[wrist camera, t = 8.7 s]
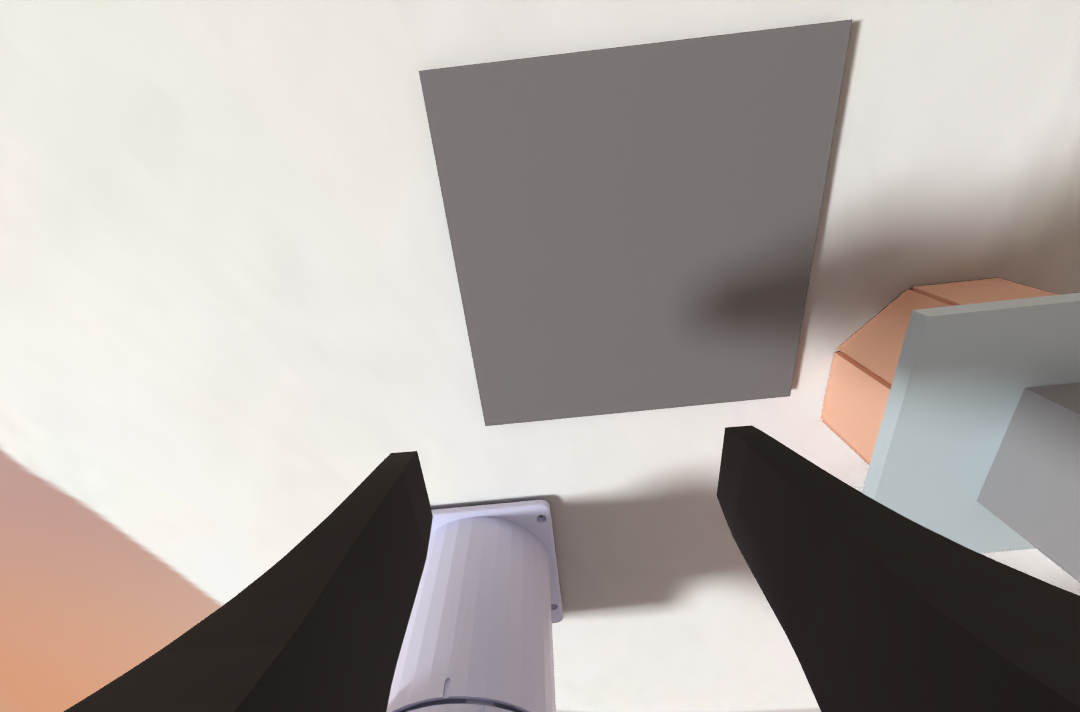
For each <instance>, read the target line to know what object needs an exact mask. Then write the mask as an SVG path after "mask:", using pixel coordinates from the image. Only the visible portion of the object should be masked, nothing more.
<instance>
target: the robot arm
mask: <svg viewBox="0 0 1080 712" xmlns="http://www.w3.org/2000/svg"><path fill="white" fill-rule="evenodd" d="M717 497H718V500H719V503H720V505H721V508H722V511H723V513H724V516H725V518H726V521H727V523H728V526H729V528H730V531H731V533H732V536H733V538H734V540H735V541H736V543H737V545H738V547H739V549H740V551H741V553H742V555H743V556H744V558H745V560H746V562H747V564H748V566H749V568H750V569H751V571H752V573H753V575H754V577H755V579H756V580H757V582H758V584H759V586H760V588H761V589H762V591H763V593H764V595H765V597H766V599H767V600H768V602H769V604H770V606H771V608H772V610H773V611H774V613H775V615H776V617H777V619H778V620H779V622H780V624H781V626H782V628H783V630H784V631H785V633H786V635H787V637H788V639H789V641H790V643H791V645H792V647H793V649H794V651H795V653H796V655H797V657H798V659H799V662H800V664H801V666H802V668H803V671H804V673H805V675H806V678H807V680H808V682H809V684H810V687H811V689H812V691H813V694H814V696H815V698H816V700H817V703H818V705H819V707H820V709H821V712H1080V596H1078V595H1076V594H1073V593H1071V592H1068V591H1066V590H1063V589H1061V588H1058V587H1056V586H1053V585H1051V584H1049V583H1046V582H1044V581H1042V580H1039V579H1037V578H1035V577H1032V576H1030V575H1028V574H1025V573H1023V572H1021V571H1018V570H1016V569H1014V568H1011V567H1009V566H1007V565H1004V564H1002V563H1000V562H997V561H995V560H993V559H991V558H988V557H986V556H984V555H982V554H980V553H977V552H975V551H973V550H971V549H969V548H967V547H965V546H962V545H960V544H958V543H956V542H954V541H952V540H950V539H948V538H946V537H944V536H942V535H940V534H938V533H936V532H934V531H932V530H930V529H928V528H926V527H924V526H922V525H920V524H918V523H916V522H914V521H912V520H910V519H908V518H906V517H904V516H902V515H901V514H899V513H897V512H895V511H893V510H892V509H890V508H888V507H886V506H884V505H883V504H881V503H879V502H877V501H875V500H874V499H872V498H870V497H868V496H866V495H865V494H863V493H861V492H859V491H858V490H856V489H854V488H853V487H851V486H849V485H848V484H846V483H844V482H842V481H841V480H839V479H838V478H836V477H834V476H833V475H831V474H829V473H828V472H826V471H824V470H823V469H821V468H820V467H818V466H816V465H815V464H813V463H812V462H810V461H808V460H807V459H805V458H804V457H802V456H800V455H799V454H797V453H796V452H794V451H793V450H791V449H789V448H788V447H786V446H785V445H783V444H782V443H780V442H778V441H777V440H775V439H774V438H772V437H770V436H769V435H767V434H765V433H764V432H762V431H760V430H759V429H757V428H755V427H753V426H741V427H728V428H725V434H724V442H723V450H722V458H721V466H720V474H719V482H718V490H717ZM540 515H543V516H544V517H539V516H540ZM562 619H563V609H562V600H561V592H560V584H559V576H558V568H557V560H556V552H555V544H554V536H553V527H552V519H551V511H550V505H549V503H548V502H547V501H545V500H531V501H520V502H510V503H499V504H489V505H478V506H467V507H457V508H446V509H436V510H431V507H430V503H429V499H428V494H427V490H426V486H425V482H424V478H423V474H422V470H421V466H420V461H419V457H418V453H417V451H414V452H401V453H391V454H390V455H389V456H388V457H387V458H386V459H385V460H384V461H383V462H382V463H381V464H380V465H379V466H378V467H377V468H376V469H375V470H374V471H373V472H372V473H371V474H370V475H369V476H368V477H367V478H366V479H365V480H364V481H363V482H362V483H361V484H360V485H359V486H358V487H357V488H356V489H355V490H354V491H353V492H352V493H351V494H350V495H349V496H348V497H347V498H346V499H345V500H344V501H343V502H342V503H341V504H340V505H339V506H338V507H337V508H336V509H335V510H334V511H333V512H332V513H331V514H330V515H329V516H328V517H327V518H326V519H325V520H324V521H323V522H322V523H321V524H319V525H318V526H317V527H316V528H315V529H314V530H313V531H312V532H311V533H310V534H309V535H307V536H306V537H305V538H304V539H303V540H302V541H301V542H300V543H299V544H298V545H297V546H295V547H294V548H293V549H292V550H291V551H290V552H289V553H288V554H287V555H286V556H284V557H283V558H282V559H281V560H280V561H279V562H277V563H276V564H275V565H274V566H273V567H271V568H270V569H269V570H268V571H267V572H265V573H264V574H263V575H262V576H260V577H259V578H258V579H257V580H255V581H254V582H253V583H252V584H250V585H249V586H248V587H247V588H245V589H244V590H243V591H242V592H240V593H239V594H238V595H237V596H235V597H234V598H233V599H231V600H230V601H229V602H227V603H226V604H225V605H223V606H222V607H221V608H219V609H218V610H216V611H215V612H214V613H212V614H211V615H209V616H208V617H207V618H205V619H204V620H202V621H201V622H200V623H198V624H197V625H195V626H194V627H193V628H191V629H190V630H188V631H187V632H186V633H184V634H183V635H181V636H180V637H179V638H177V639H176V640H174V641H173V642H172V643H170V644H169V645H167V646H166V647H164V648H163V649H161V650H160V651H158V652H157V653H155V654H154V655H152V656H151V657H149V658H148V659H146V660H145V661H143V662H142V663H140V664H139V665H137V666H136V667H134V668H133V669H131V670H130V671H128V672H127V673H125V674H123V675H122V676H120V677H119V678H117V679H116V680H114V681H112V682H111V683H109V684H108V685H106V686H104V687H103V688H101V689H100V690H98V691H96V692H95V693H93V694H92V695H90V696H88V697H87V698H85V699H84V700H82V701H80V702H79V703H77V704H75V705H74V706H72V707H71V708H69V709H67V710H66V711H64V712H556V705H555V683H554V662H553V641H552V623H557V622H560V621H561V620H562Z"/></svg>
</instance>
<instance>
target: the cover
mask: <svg viewBox="0 0 1080 712" xmlns="http://www.w3.org/2000/svg"><path fill="white" fill-rule="evenodd" d="M862 493H863V494H865V495H866V496H868V497H870V498H872V499H874V500H875V501H877V502H879V503H881V504H883V505H884V506H886V507H888V508H890V509H892V510H893V511H895V512H897V513H899V514H901V515H902V516H904V517H906V518H908V519H910V520H912V521H914V522H916V523H918V524H920V525H922V526H924V527H926V528H928V529H930V530H932V531H934V532H936V533H938V534H940V535H942V536H944V537H946V538H948V539H950V540H952V541H954V542H956V543H958V544H960V545H962V546H965V547H967V548H969V549H971V550H973V551H975V552H977V553H989V552H1000V551H1011V550H1022V549H1033V548H1037V549H1038V550H1039V551H1040V552H1042V553H1043V554H1044V555H1046V556H1047V557H1048V558H1049V559H1051V560H1052V561H1053V562H1054V563H1056V564H1057V565H1058V566H1059V567H1061V568H1062V569H1063V570H1064V571H1066V572H1067V573H1068V574H1070V575H1071V576H1072V577H1073V578H1075V579H1076V580H1077V581H1078V582H1080V293H1071V294H1062V295H1052V296H1042V297H1033V298H1023V299H1014V300H1004V301H994V302H985V303H975V304H966V305H956V306H946V307H937V308H927V309H918V310H912V314H911V317H910V321H909V324H908V328H907V332H906V335H905V339H904V343H903V346H902V350H901V353H900V357H899V361H898V364H897V368H896V371H895V375H894V379H893V382H892V386H891V390H890V393H889V397H888V400H887V404H886V408H885V411H884V415H883V419H882V422H881V426H880V429H879V433H878V437H877V440H876V444H875V448H874V451H873V455H872V458H871V462H870V466H869V469H868V473H867V476H866V480H865V484H864V487H863V491H862Z"/></svg>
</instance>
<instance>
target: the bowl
mask: <svg viewBox="0 0 1080 712" xmlns="http://www.w3.org/2000/svg"><path fill="white" fill-rule="evenodd" d="M1052 295H1058V294H1054V293H1050V292H1047V291H1043V290H1040V289H1036V288H1033V287H1029V286H1025V285H1022V284H1018V283H1015V282H1011V281H1008V280H1004V279H1000V278H991V279H982V280H972V281H962V282H953V283H943V284H934V285H924V286H914V287H913V288H912V290H909V289H907V290H906V291H905V292H903V293H902V294H901V295H900V296H899V297H898V298H896V299H895V300H894V301H893V302H892V303H890V304H889V305H888V306H887V307H886V308H884V309H883V310H882V311H881V312H880V313H878V314H877V315H876V316H875V317H874V318H873V319H871V320H870V321H869V322H868V323H867V324H865V325H864V326H863V327H862V328H861V329H859V330H858V331H857V332H856V333H855V334H853V335H852V336H851V337H850V338H849V339H848V340H846V341H845V342H844V343H843V344H842V345H840V346H839V347H838V348H837V349H838V350H839V351H840V352H834V357H833V362H832V367H831V372H830V376H829V381H828V386H827V391H826V396H825V401H824V406H823V410H822V415H821V418H822V419H823V422H824V423H825V424H826V425H827V426H828V427H829V428H830V429H831V430H832V431H833V432H834V433H835V434H836V435H838V436H839V437H840V438H841V439H842V440H843V441H844V442H845V443H846V444H847V445H848V446H849V447H850V448H851V449H853V450H854V451H855V452H856V453H857V454H858V455H859V456H860V457H861V458H862V459H863V460H864V461H865V462H866V463H867V464H869V465H870V462H871V458H872V455H873V451H874V448H875V444H876V440H877V437H878V433H879V429H880V426H881V422H882V419H883V415H884V411H885V408H886V404H887V400H888V397H889V393H890V390H891V386H892V382H893V379H894V375H895V371H896V368H897V364H898V361H899V357H900V353H901V350H902V346H903V343H904V339H905V335H906V332H907V328H908V324H909V321H910V317H911V314H912V310H918V309H927V308H937V307H946V306H956V305H966V304H975V303H985V302H994V301H1004V300H1014V299H1023V298H1033V297H1042V296H1052Z"/></svg>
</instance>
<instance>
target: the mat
mask: <svg viewBox="0 0 1080 712" xmlns="http://www.w3.org/2000/svg"><path fill="white" fill-rule="evenodd" d="M851 24H852V20H844V21H836V22H828V23H819V24H811V25H802V26H794V27H785V28H777V29H769V30H760V31H752V32H743V33H735V34H727V35H718V36H710V37H701V38H693V39H684V40H676V41H668V42H659V43H651V44H642V45H634V46H625V47H617V48H609V49H600V50H592V51H583V52H575V53H566V54H558V55H550V56H541V57H533V58H524V59H516V60H507V61H499V62H491V63H482V64H474V65H465V66H457V67H449V68H440V69H432V70H423V71H419V74H420V80H421V85H422V90H423V96H424V101H425V106H426V112H427V117H428V122H429V128H430V133H431V138H432V144H433V149H434V154H435V160H436V165H437V170H438V176H439V181H440V186H441V192H442V197H443V202H444V208H445V213H446V218H447V224H448V229H449V234H450V240H451V245H452V250H453V256H454V261H455V266H456V272H457V277H458V282H459V288H460V293H461V298H462V304H463V309H464V314H465V320H466V325H467V330H468V336H469V341H470V346H471V352H472V357H473V362H474V368H475V373H476V378H477V384H478V389H479V394H480V400H481V405H482V410H483V416H484V421H485V426H491V425H501V424H511V423H522V422H532V421H542V420H552V419H562V418H572V417H582V416H593V415H603V414H613V413H623V412H633V411H643V410H653V409H664V408H674V407H684V406H694V405H704V404H714V403H724V402H734V401H745V400H755V399H765V398H775V397H785V396H790V392H791V386H792V380H793V374H794V368H795V362H796V356H797V350H798V344H799V338H800V332H801V326H802V320H803V314H804V308H805V302H806V296H807V290H808V284H809V278H810V272H811V266H812V260H813V254H814V248H815V242H816V236H817V230H818V223H819V217H820V211H821V205H822V199H823V193H824V187H825V181H826V175H827V169H828V163H829V157H830V151H831V145H832V139H833V133H834V127H835V121H836V115H837V109H838V103H839V97H840V91H841V85H842V79H843V73H844V67H845V61H846V54H847V48H848V42H849V36H850V30H851Z"/></svg>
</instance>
